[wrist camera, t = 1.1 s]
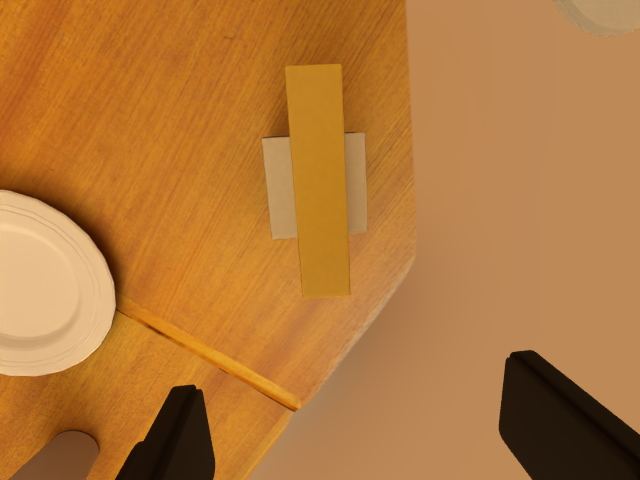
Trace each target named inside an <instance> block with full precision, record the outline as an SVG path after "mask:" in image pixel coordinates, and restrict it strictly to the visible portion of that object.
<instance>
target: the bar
mask: <svg viewBox="0 0 640 480" xmlns="http://www.w3.org/2000/svg"><path fill="white" fill-rule="evenodd" d="M284 73H285V85H286V97H287V110H288V122H289V135H290V147H291V159H292V172H293V184H294V197H295V209H296V221H297V234H298V246H299V259H300V271H301V283H302V296H303V299H304V300H305V299H316V298H327V297H338V296H349V295H350V294H351V293H350V267H349V241H348V215H347V188H346V162H345V136H344V110H343V84H342V64H341V63H334V64H311V65H288V66H284Z"/></svg>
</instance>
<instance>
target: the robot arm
mask: <svg viewBox="0 0 640 480" xmlns="http://www.w3.org/2000/svg"><path fill="white" fill-rule="evenodd" d="M499 432H500V435H501V437H502V439H503V441H504V442H505V444H506V445H507V446H508V448H509V449H510V450H511V452H512V453H513V454H514V456H515V457H516V458H517V460H518V461H519V462H520V464H521V465H522V466H523V468H524V469H525V470H526V472H527V473H528V475H529V476H530V477H531V479H532V480H640V435H639V434H638V433H637V432H636V431H634V430H633V429H632V428H631V427H629V426H628V425H627V424H625V423H624V422H623V421H622V420H621V419H619V418H618V417H617V416H615V415H614V414H613V413H612V412H610V411H609V410H608V409H607V408H605V407H604V406H603V405H601V404H600V403H599V402H598V401H597V400H595V399H594V398H593V397H592V396H590V395H589V394H588V393H587V392H585V391H584V390H583V389H581V388H580V387H579V386H578V385H577V384H575V383H574V382H573V381H572V380H570V379H569V378H567V377H566V376H565V375H564V374H563V373H561V372H560V371H559V370H557V369H556V368H555V367H554V366H553V365H551V364H550V363H549V362H547V361H546V360H545V359H544V358H542V357H541V356H540V355H539V354H538V353H536V352H534V351H532V350H527V351H517V352H512V353H511V354H510V357H509V358H507V359H506V363H505V372H504V381H503V391H502V401H501V409H500V419H499ZM214 473H215V458H214V452H213V447H212V441H211V435H210V430H209V424H208V419H207V413H206V408H205V402H204V397H203V392H202V390H201V389H198V390H197V389H196V386H195V385H184V386H175V387H173V388H172V389H171V391H170V393H169V395H168V397H167V398H166V400H165V402H164V404H163V406H162V408H161V410H160V411H159V413H158V415H157V417H156V419H155V421H154V423H153V424H152V426H151V428H150V430H149V432H148V434H147V436H146V437H145V439H144V441H141V442H138V443H137V444H136V445H135V446H134V448H133V449H132V450H131V452H130V454H129V456H128V457H127V459H126V461H125V463H124V465H123V466H122V468H121V470H120V472H119V473H118V475H117V477H116V479H115V480H213V478H214Z"/></svg>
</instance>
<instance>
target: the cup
mask: <svg viewBox="0 0 640 480" xmlns="http://www.w3.org/2000/svg"><path fill="white" fill-rule="evenodd" d="M98 453H99V448H98V445H97V443H96V442H95V440H94V439H93V438H92V437H90V436H89V435H87V434H85V433H82V432H79V431H67V432H63V433H60V434H58V435H57V436H56V437H54V438H53V439H52V440H51V441H50V442H49V443H48V444H47V445H45V446H44V447H43V448H42V449H41V450H40V451H39V452H38V453H37V454H36V455H34V456H33V457H32V458H31V459H30V460H29V461H28V462H27V463H26V464H25V465H23V466H22V467H21V468H20V469H19V470H18V471H17V472H16V473H15V474H14V475H13V476H12V477H11V478H10V479H9V480H86V479H87V477H88V475H89V473H90V471H91V469H92V466H93V464H94V462H95V460H96V458H97V456H98Z"/></svg>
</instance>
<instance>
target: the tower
mask: <svg viewBox="0 0 640 480" xmlns="http://www.w3.org/2000/svg"><path fill="white" fill-rule="evenodd" d="M344 136H345V162H346V188H347V215H348V234H353V233H366V232H367V189H366V144H365V132H361V133H356V132H344ZM262 147H263V157H264V167H265V176H266V186H267V196H268V206H269V215H270V225H271V235H272V239H273V240H275V239H288V238H298V234H297V221H296V209H295V197H294V184H293V172H292V159H291V147H290V136H274V137H263V138H262Z"/></svg>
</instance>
